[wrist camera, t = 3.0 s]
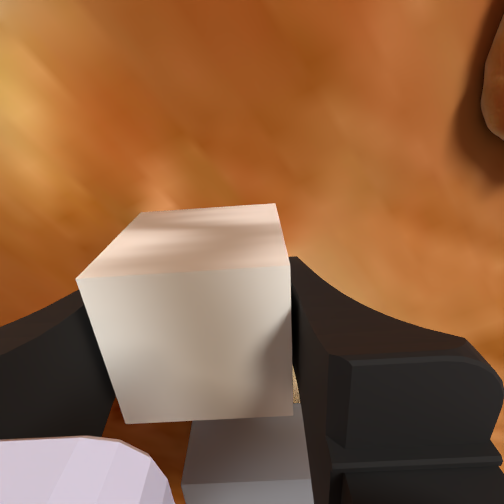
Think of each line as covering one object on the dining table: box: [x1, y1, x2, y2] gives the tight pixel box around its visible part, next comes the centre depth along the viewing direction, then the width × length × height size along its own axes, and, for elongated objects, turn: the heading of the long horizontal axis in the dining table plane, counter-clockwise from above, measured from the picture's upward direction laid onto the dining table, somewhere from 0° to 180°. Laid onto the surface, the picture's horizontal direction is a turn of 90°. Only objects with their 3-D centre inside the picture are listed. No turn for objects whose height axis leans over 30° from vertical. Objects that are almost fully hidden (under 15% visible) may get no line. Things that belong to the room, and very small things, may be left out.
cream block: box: [76, 203, 293, 424], centre depth 11 cm, size 5×5×5 cm
